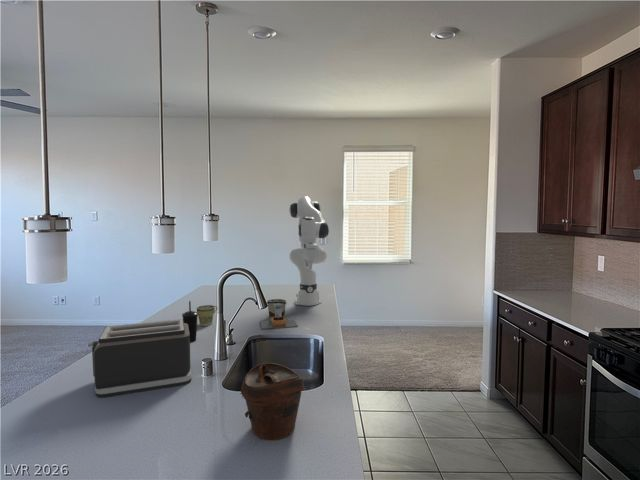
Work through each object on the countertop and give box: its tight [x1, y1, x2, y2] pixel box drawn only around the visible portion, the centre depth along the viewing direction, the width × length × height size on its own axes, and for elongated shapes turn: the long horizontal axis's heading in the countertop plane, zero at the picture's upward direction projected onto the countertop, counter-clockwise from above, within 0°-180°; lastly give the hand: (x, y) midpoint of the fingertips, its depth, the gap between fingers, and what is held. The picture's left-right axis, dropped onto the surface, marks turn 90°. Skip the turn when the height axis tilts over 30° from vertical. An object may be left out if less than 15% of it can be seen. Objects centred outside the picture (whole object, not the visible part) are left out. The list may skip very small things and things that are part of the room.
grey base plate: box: [259, 316, 299, 330], centre depth 220 cm, size 14×20×4 cm
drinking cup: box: [181, 300, 199, 343], centre depth 192 cm, size 8×8×20 cm
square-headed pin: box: [274, 303, 282, 320], centre depth 219 cm, size 4×4×11 cm
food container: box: [266, 298, 288, 318], centre depth 238 cm, size 12×6×10 cm, turn 84°
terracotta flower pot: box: [240, 362, 306, 441], centre depth 114 cm, size 18×20×18 cm
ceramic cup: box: [196, 304, 218, 327], centre depth 222 cm, size 13×10×10 cm
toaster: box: [87, 318, 193, 398], centre depth 146 cm, size 19×35×20 cm, turn 111°
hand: (308, 267), depth 228 cm, fingers open, 8 cm apart
